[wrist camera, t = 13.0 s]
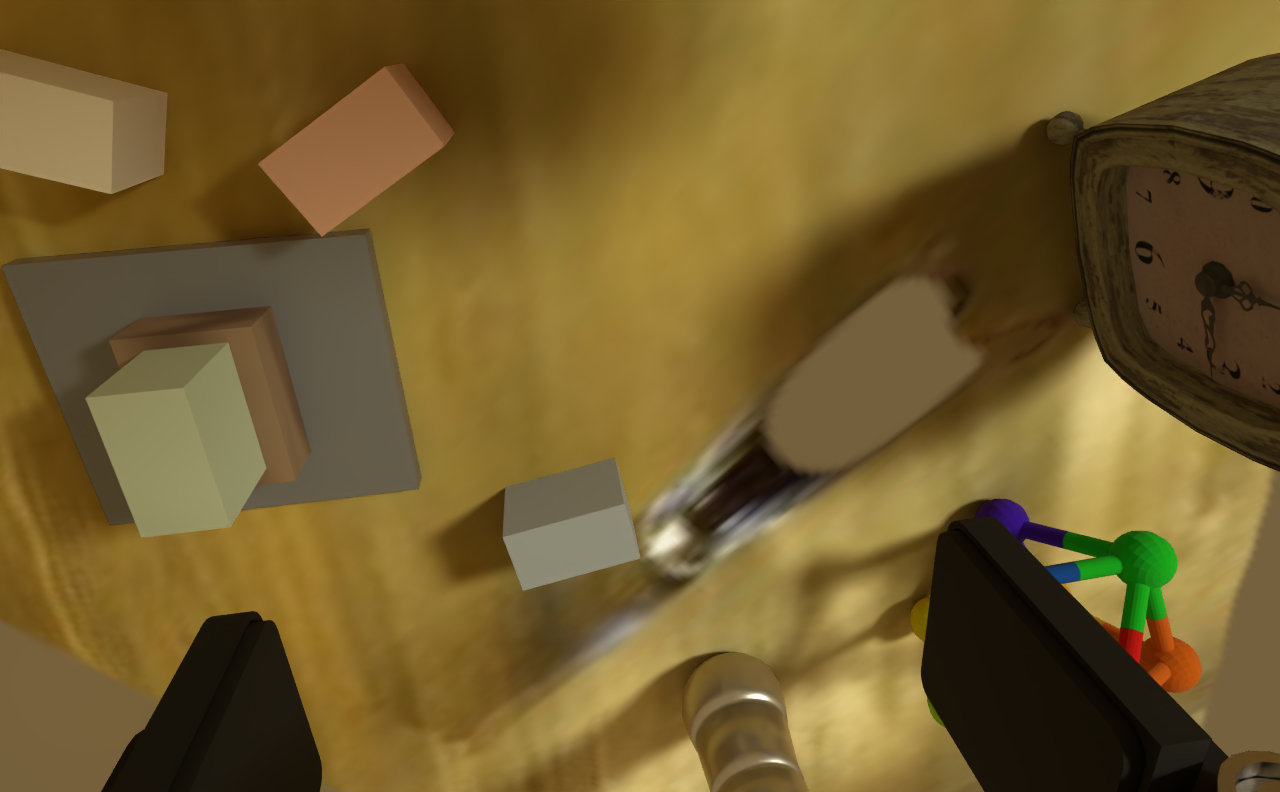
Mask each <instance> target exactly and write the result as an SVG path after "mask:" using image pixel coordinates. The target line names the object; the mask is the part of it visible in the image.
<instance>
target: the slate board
mask: <svg viewBox="0 0 1280 792" xmlns="http://www.w3.org/2000/svg"><path fill="white" fill-rule="evenodd" d="M1 267H2V270H3V272H4V274H5V277H6V279H7V282H8V284H9V286H10V289H11V291H12V294H13V296H14V298H15V301H16V303H17V305H18V308H19V310H20V313H21V315H22V317H23V320H24V322H25V325H26V327H27V329H28V332H29V334H30V336H31V339H32V341H33V344H34V346H35V348H36V351H37V353H38V356H39V358H40V360H41V363H42V365H43V368H44V370H45V372H46V375H47V377H48V379H49V382H50V384H51V387H52V389H53V391H54V394H55V396H56V399H57V401H58V403H59V406H60V408H61V411H62V413H63V415H64V418H65V420H66V422H67V425H68V427H69V430H70V432H71V434H72V437H73V439H74V442H75V444H76V446H77V449H78V451H79V454H80V456H81V458H82V461H83V463H84V465H85V468H86V470H87V473H88V475H89V477H90V480H91V482H92V485H93V487H94V489H95V492H96V494H97V497H98V499H99V501H100V504H101V506H102V508H103V511H104V513H105V516H106V518H107V520H108V523H109V525H117V524H126V523H134V522H135V521H134V518H133V516H132V513H131V511H130V508H129V506H128V503H127V501H126V498H125V496H124V493H123V491H122V488H121V486H120V483H119V481H118V478H117V476H116V473H115V471H114V468H113V466H112V463H111V461H110V458H109V456H108V453H107V451H106V448H105V446H104V443H103V441H102V438H101V436H100V433H99V431H98V428H97V426H96V423H95V421H94V418H93V416H92V413H91V411H90V408H89V406H88V403H87V401H86V397H87V396H88V395H90V394H91V393H92V392H93V391H94V390H96V389H97V388H98V387H99V386H101V385H102V384H103V383H104V382H106V381H107V380H108V379H109V378H110V377H112V376H113V375H114V374H115V373H117V372H118V371H119V370H120V369H119V366H118V363H117V361H116V358H115V355H114V353H113V350H112V347H111V345H110V342H109V340H110V339H112V338H113V337H114V336H116V335H117V334H119V333H120V332H121V331H123V330H124V329H125V328H127V327H128V326H130V325H131V324H132V323H134V322H135V321H137V320H138V319H139V318H147V317H157V316H168V315H179V314H189V313H200V312H211V311H221V310H232V309H243V308H253V307H264V306H272V310H273V314H274V317H275V321H276V325H277V328H278V332H279V336H280V339H281V343H282V347H283V350H284V354H285V358H286V361H287V365H288V369H289V372H290V376H291V380H292V383H293V387H294V391H295V394H296V398H297V402H298V405H299V409H300V412H301V416H302V420H303V423H304V427H305V431H306V434H307V438H308V442H309V445H310V449H311V453H310V455H309V457H308V459H307V461H306V462H305V464H304V466H303V468H302V470H301V472H300V474H299V476H298V478H297V480H296V481H292V482H284V483H275V484H266V485H257V486H255V488H254V490H253V491H252V493H251V494H250V496H249V498H248V499H247V501H246V503H245V504H244V506H243V508H242V509H241V510H245V509H254V508H262V507H271V506H279V505H288V504H297V503H305V502H314V501H322V500H331V499H339V498H348V497H356V496H365V495H373V494H382V493H391V492H399V491H408V490H416V489H419V486H420V482H421V473H420V469H419V464H418V459H417V454H416V449H415V444H414V440H413V435H412V430H411V425H410V420H409V416H408V411H407V406H406V401H405V396H404V391H403V387H402V382H401V377H400V372H399V367H398V363H397V358H396V353H395V348H394V343H393V338H392V334H391V329H390V324H389V319H388V314H387V310H386V305H385V300H384V295H383V290H382V285H381V281H380V276H379V271H378V266H377V261H376V257H375V252H374V247H373V242H372V237H371V232H370V229H361V230H350V231H338V232H328V233H326V234H325V235H324V236H322V237H321V235H320V234H319V233H315V234H303V235H292V236H280V237H268V238H257V239H245V240H233V241H222V242H210V243H198V244H187V245H175V246H164V247H152V248H140V249H129V250H117V251H105V252H94V253H82V254H71V255H59V256H47V257H36V258H24V259H16V260H14V261H11V262H9V263H7V264H4V265H2V266H1Z"/></svg>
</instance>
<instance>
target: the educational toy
mask: <svg viewBox="0 0 1280 792" xmlns="http://www.w3.org/2000/svg"><path fill="white" fill-rule="evenodd" d="M988 516H991V517H995V518H996V519H997V520H999V521H1000V522H1001V523H1002V524H1003V525H1004V526H1005V527H1006V528H1007V529H1008V530H1009V531H1010V532H1011V533H1012V534H1013V535H1014V536H1015V537H1016V538H1017V539H1018V540H1019V541H1020V543H1021V544H1022V545H1023V546H1024V547H1025V545H1024V543H1023V541H1024V540H1025V539H1030V540H1034V541H1037V542H1041V543H1045V544H1049V545H1052V546H1056V547H1060V548H1064V549H1067V550H1071V551H1075V552H1079V553H1082V554H1086V555H1090V556H1094V557H1097V558H1091V559H1085V560H1079V561H1073V562H1068V563H1062V564H1056V565H1050V566H1044V567H1045V568H1046V569H1047V570H1048V571H1049V572H1050V573H1051V574H1052V575H1053V576H1054V577H1055V578H1056V579H1057V580H1058V581H1059V582H1060V583H1061V584H1062V586H1063V587H1064V588H1065V589H1066V590H1067V591H1068V592H1069V593H1070V594H1071V592H1070V590H1069V588H1068V587H1067V586H1066V585H1065V584H1064V583H1070V582H1075V581H1081V580H1087V579H1093V578H1098V577H1104V576H1110V575H1117V576H1118V577H1119V578H1120V579H1121V580H1122V581H1123V582H1124V583H1126V584H1127V589H1126V595H1125V602H1124V608H1123V615H1122V621H1121V628H1120V629H1119V628H1117V627H1115V626H1113V625H1111V624H1109V623H1107V622H1105V621H1103V620H1101V619H1099V618H1097V617H1095V616H1093V615H1092V616H1093V617H1094V618H1095V619H1096V620H1097V621H1098V622H1099V623H1100V624H1101V625H1102V626H1103V628H1104V629H1105V630H1106V631H1107V632H1108V633H1109V634H1110V635H1111V636H1112V637H1113V638H1114V639H1115V640H1116V641H1117V642H1118V643H1119V644H1120V645H1121V646H1122V647H1123V648H1124V649H1125V650H1126V651H1127V652H1128V653H1129V654H1130V655H1131V656H1132V657H1133V658H1134V659H1135V660H1136V661H1137V662H1138V663H1139V664H1140V665H1141V666H1142V667H1143V668H1144V669H1145V671H1146V672H1147V673H1148V674H1149V675H1150V676H1151V677H1152V678H1153V679H1154V680H1155V681H1156V682H1157V683H1158V684H1159V685H1160V686H1161V687H1162V688H1163V689H1164V690H1165V691H1167V692H1173V693H1178V692H1183V691H1187V690H1189V689H1191V688H1192V687H1194V686H1195V685H1196V684H1197V682H1198V680H1199V679H1200V676H1201V663H1200V660H1199V658H1198V656H1197V654H1196V652H1195V651H1194V649H1193V648H1191V647H1190V646H1189V645H1188V644H1186V643H1185V642H1183V641H1181V640H1179V639H1177V638H1174V637H1172V633H1171V629H1170V625H1169V621H1168V617H1167V612H1166V608H1165V604H1164V600H1163V596H1162V592H1161V587H1162V586H1163V585H1165V584H1167V583H1168V582H1169V581H1170V580H1171V579H1172V578H1173V576H1174V575H1175V573H1176V571H1177V561H1178V560H1177V557H1176V554H1175V552H1174V549H1173V548H1172V546H1171V545H1170V543H1168V542H1167V541H1166V540H1165V539H1163V538H1162V537H1160V536H1158V535H1156V534H1154V533H1152V532H1148V531H1131V532H1127V533H1125V534H1123V535H1121V536H1120V537H1118V538H1117V539H1116V540H1115V541H1114V543H1113V542H1109V541H1105V540H1101V539H1096V538H1092V537H1088V536H1084V535H1080V534H1076V533H1072V532H1068V531H1064V530H1060V529H1056V528H1052V527H1048V526H1044V525H1040V524H1036V523H1032V522H1030V521H1029V518H1028V516H1027V514H1026V512H1025V510H1024V509H1023V508H1022V507H1021V506H1020V505H1018V504H1017V503H1015V502H1013V501H1011V500H1008V499H993V500H991V501H988V502H986V503H985V504H983V505H982V506H981V507H980V509H979V510H978V512H977V514H976V518H980V517H988ZM1025 548H1026V547H1025ZM1026 549H1027V548H1026ZM1071 595H1072V594H1071ZM929 602H930V597H926V598H923V599H921V600H919V601H918V602H917V603H916V604H915V605H914V607H913V608H912V610H911V614H910V623H911V626H912V629H913V631H914V633H915V635H916V636H917V637H919V638H920V639H921V640H922V641H924V642H925V634H926V626H927V618H928V610H929ZM1145 619H1146V620H1147V624H1148V628H1149V632H1150V636H1151V638H1149V639H1147V640H1146V641H1145V642H1144V641H1142V640H1143V633H1144V626H1145ZM927 702H928V706H929V709H930V712H931V714H932V716H933V718H934V719H935V720H936V721H937V722H938V723H939V724H940V725H942V726H943V727H945V726H944V724H943V722H942V721H941V719H940V717H939V716H938V714H937V712H936V711H935V709H934V707H933V706H932V704H931V702H930V701H929V699H928V697H927ZM945 728H946V727H945Z"/></svg>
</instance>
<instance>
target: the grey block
mask: <svg viewBox="0 0 1280 792" xmlns="http://www.w3.org/2000/svg"><path fill="white" fill-rule="evenodd" d="M503 540H504V542H505V545H506V547H507V550H508V553H509V555H510V558H511V560H512V563H513V566H514V568H515V571H516V573H517V576H518V579H519V581H520V584H521V586H522V589H523V591H524V590H527V589H531V588H535V587H538V586H542V585H546V584H549V583H553V582H556V581H560V580H564V579H567V578H571V577H575V576H578V575H582V574H585V573H589V572H593V571H596V570H600V569H604V568H607V567H611V566H614V565H618V564H622V563H625V562H629V561H633V560H636V559H640V554H639V549H638V545H637V540H636V535H635V531H634V526H633V521H632V517H631V512H630V508H629V504H628V501H627V497H626V494H625V490H624V487H623V483H622V480H621V477H620V473H619V470H618V466H617V463H616V459H615V458H612V459H608V460H604V461H601V462H597V463H593V464H590V465H586V466H582V467H579V468H575V469H572V470H568V471H564V472H561V473H557V474H553V475H550V476H546V477H542V478H539V479H535V480H531V481H528V482H524V483H520V484H517V485H513V486H509V487H506V488H505V502H504V520H503Z"/></svg>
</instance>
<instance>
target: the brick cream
mask: <svg viewBox="0 0 1280 792" xmlns="http://www.w3.org/2000/svg"><path fill="white" fill-rule="evenodd" d="M167 96H168V93H166V92H162V91H158V90H154V89H151V88H147V87H143V86H139V85H135V84H132V83H128V82H124V81H120V80H117V79H113V78H109V77H105V76H101V75H98V74H94V73H90V72H86V71H82V70H79V69H75V68H71V67H67V66H63V65H60V64H56V63H52V62H48V61H45V60H41V59H37V58H33V57H29V56H26V55H22V54H18V53H14V52H10V51H7V50H3V49H0V168H1V169H5V170H10V171H14V172H18V173H22V174H27V175H31V176H35V177H40V178H44V179H48V180H52V181H57V182H61V183H65V184H70V185H74V186H78V187H82V188H87V189H91V190H95V191H99V192H104V193H108V194H113V193H116V192H119V191H121V190H124V189H127V188H129V187H132V186H135V185H137V184H140V183H143V182H145V181H148V180H151V179H153V178H156V177H159V176H161V175H164V158H165V137H166V116H167Z"/></svg>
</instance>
